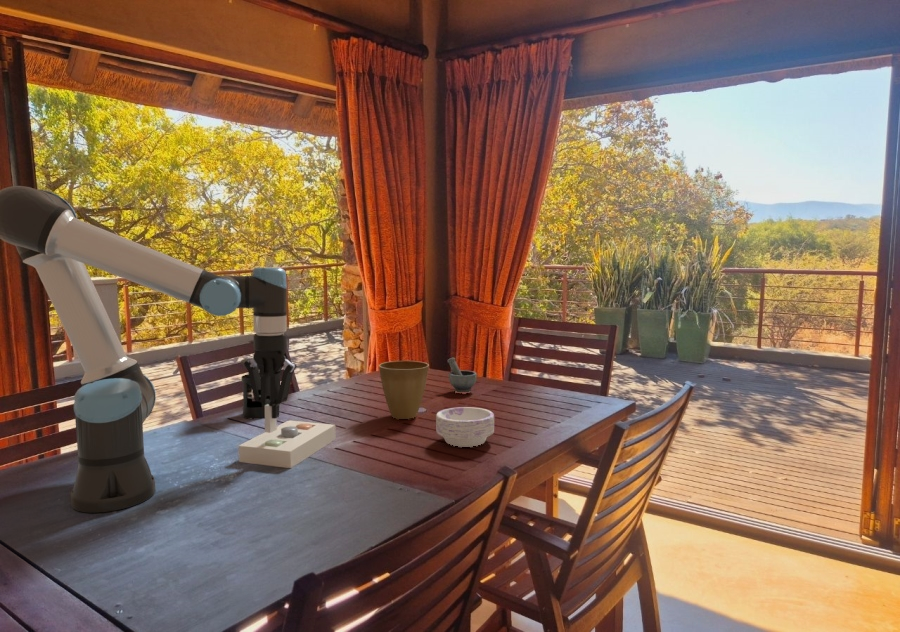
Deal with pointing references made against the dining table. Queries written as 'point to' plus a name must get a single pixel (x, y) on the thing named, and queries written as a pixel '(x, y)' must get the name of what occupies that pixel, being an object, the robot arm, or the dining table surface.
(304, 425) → the terracotta button
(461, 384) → the mortar and pestle
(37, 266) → the robot arm
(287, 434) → the grey button
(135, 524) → the dining table surface
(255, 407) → the french press
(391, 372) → the plant pot
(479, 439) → the paper bowls
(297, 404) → the dining table surface
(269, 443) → the sage button
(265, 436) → the button panel
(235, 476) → the dining table surface
